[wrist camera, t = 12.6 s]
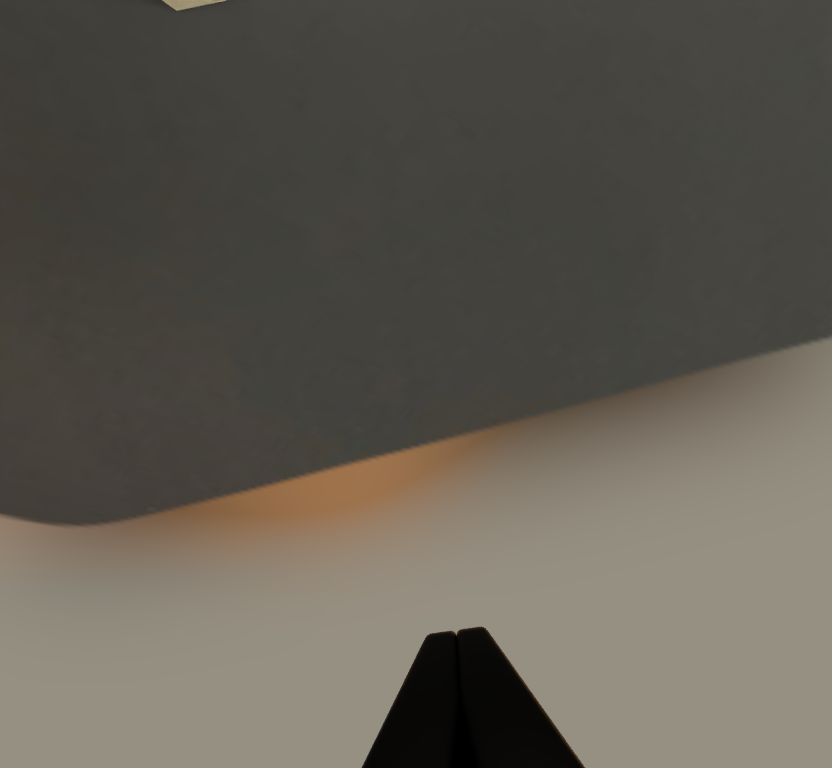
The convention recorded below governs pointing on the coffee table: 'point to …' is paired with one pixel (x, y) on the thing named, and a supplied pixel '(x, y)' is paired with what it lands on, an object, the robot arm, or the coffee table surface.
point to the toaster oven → (188, 3)
